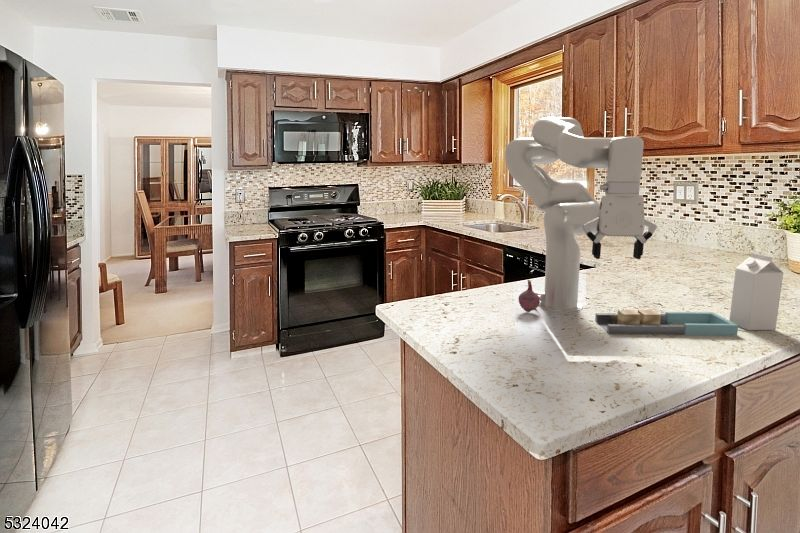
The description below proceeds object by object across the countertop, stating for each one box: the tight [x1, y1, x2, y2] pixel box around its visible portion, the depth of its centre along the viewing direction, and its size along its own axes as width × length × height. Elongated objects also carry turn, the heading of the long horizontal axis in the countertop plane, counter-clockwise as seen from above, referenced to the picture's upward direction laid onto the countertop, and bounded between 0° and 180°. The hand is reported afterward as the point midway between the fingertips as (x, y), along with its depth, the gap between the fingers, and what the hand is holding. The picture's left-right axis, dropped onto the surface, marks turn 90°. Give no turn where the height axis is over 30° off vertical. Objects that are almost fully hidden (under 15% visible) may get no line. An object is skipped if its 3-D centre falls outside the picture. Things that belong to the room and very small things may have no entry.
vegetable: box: [518, 278, 541, 313], centre depth 140 cm, size 6×6×10 cm
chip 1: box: [617, 309, 640, 325], centre depth 123 cm, size 4×4×4 cm
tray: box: [664, 311, 739, 336], centre depth 122 cm, size 12×11×4 cm
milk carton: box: [728, 252, 784, 331], centre depth 124 cm, size 7×7×19 cm
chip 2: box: [637, 309, 662, 325], centre depth 123 cm, size 4×4×4 cm
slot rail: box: [594, 312, 686, 336], centre depth 123 cm, size 18×11×3 cm, turn 85°
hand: (616, 258), depth 120 cm, fingers open, 9 cm apart
